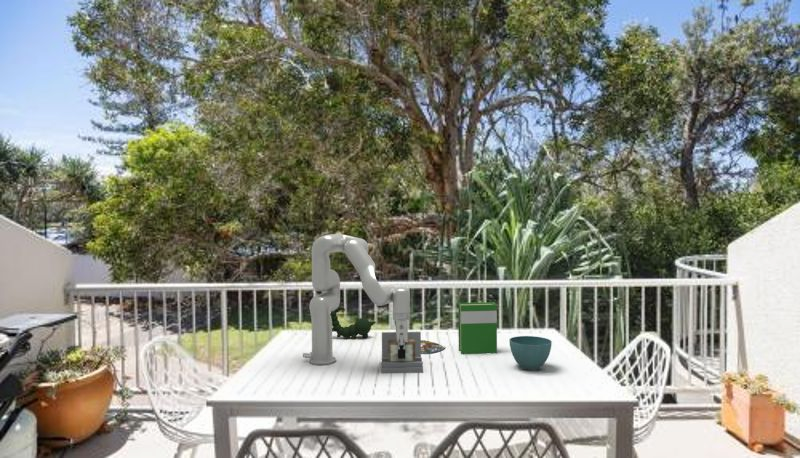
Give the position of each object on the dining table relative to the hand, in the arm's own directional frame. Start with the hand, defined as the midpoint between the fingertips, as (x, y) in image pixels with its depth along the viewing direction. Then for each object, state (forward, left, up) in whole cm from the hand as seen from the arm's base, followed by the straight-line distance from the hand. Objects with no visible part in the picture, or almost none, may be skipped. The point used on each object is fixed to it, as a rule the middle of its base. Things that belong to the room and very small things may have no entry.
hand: (401, 356), depth 244 cm
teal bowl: (+57, -1, -6) cm, 57 cm away
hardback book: (+38, +28, -6) cm, 48 cm away
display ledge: (0, +3, -6) cm, 6 cm away
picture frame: (0, 0, -3) cm, 3 cm away
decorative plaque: (+8, +39, -6) cm, 40 cm away
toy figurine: (-26, +62, -6) cm, 67 cm away
